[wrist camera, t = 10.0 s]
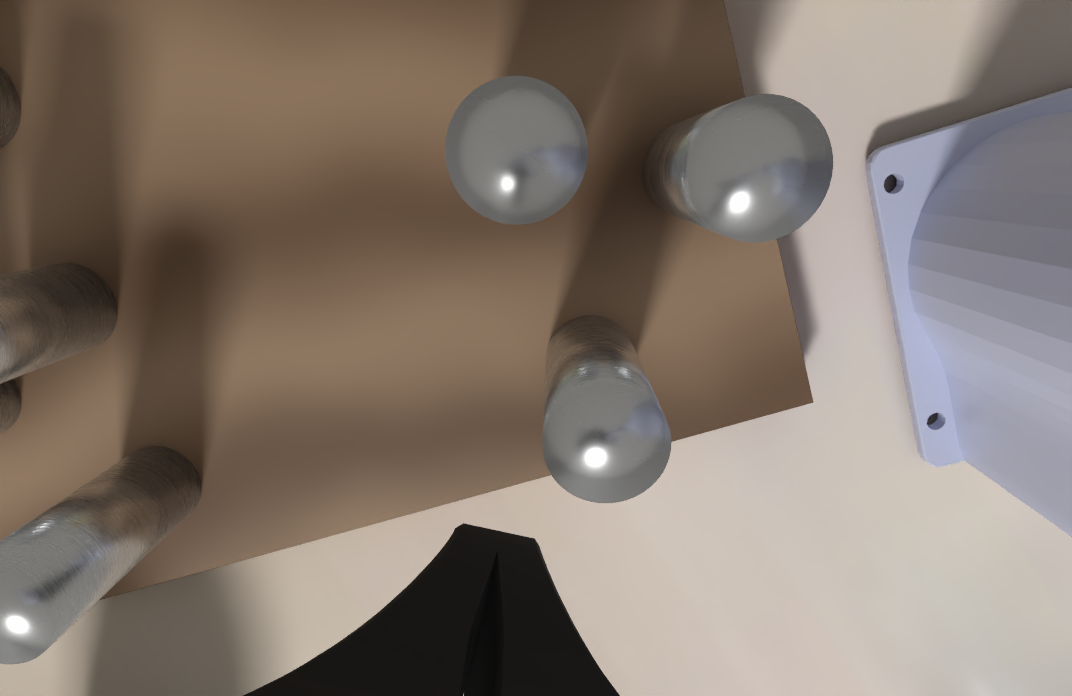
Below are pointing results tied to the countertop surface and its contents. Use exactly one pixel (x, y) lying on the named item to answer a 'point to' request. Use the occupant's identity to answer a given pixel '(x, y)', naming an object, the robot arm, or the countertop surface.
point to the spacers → (496, 193)
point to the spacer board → (354, 253)
